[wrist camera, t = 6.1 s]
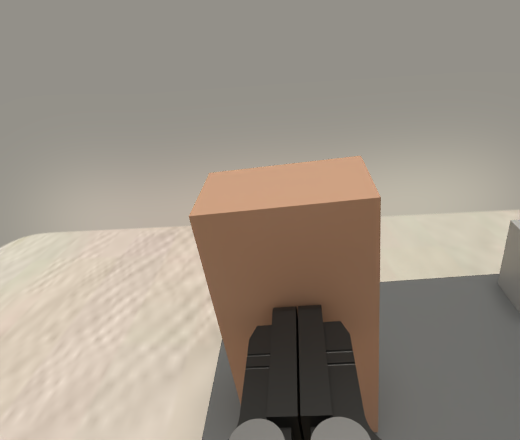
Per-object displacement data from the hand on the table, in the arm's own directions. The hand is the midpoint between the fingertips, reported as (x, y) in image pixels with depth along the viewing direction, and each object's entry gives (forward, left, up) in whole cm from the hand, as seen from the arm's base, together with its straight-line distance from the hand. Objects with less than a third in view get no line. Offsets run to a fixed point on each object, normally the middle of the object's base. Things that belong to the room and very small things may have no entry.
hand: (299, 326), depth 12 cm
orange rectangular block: (0, +1, -6) cm, 6 cm away
